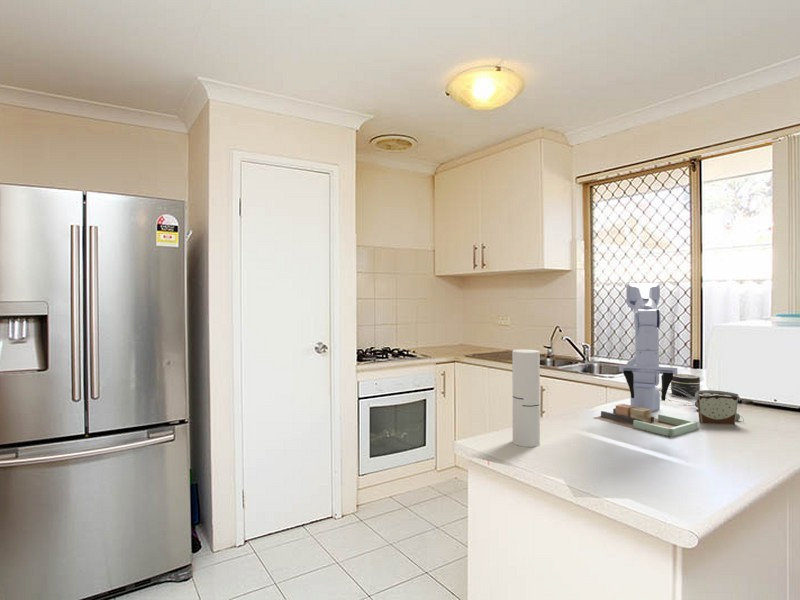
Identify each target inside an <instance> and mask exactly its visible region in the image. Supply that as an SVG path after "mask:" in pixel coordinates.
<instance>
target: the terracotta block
mask: <svg viewBox="0 0 800 600" xmlns="http://www.w3.org/2000/svg"><path fill="white" fill-rule="evenodd" d="M615 408H616V414H618V415H622V416H626V417H631V408H635V406H631V404H625V403H620V404H616V405H615Z"/></svg>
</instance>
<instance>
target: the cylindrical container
mask: <svg viewBox="0 0 800 600" xmlns="http://www.w3.org/2000/svg"><path fill="white" fill-rule="evenodd" d="M511 353H512V355H511V356H512V357H511V358H512V364H511V365H512V367H511V368H512V373H511V374H512V377H511V378H512V379H511V380H512V386H511V387H512V443H513V444H514V445H516V446H519V447H523V448H536V447H539V446H540V444H541V436H540V435H541V432H540V431H541V429H540V428H541V427H540V426H541V424H540V423H541V420H540V419H541V416H540V415H541V412H540V411H541V410H540V409H541V406H540V405H541V399H540V397H541V395H540V394H541V393H540V391H541V390H540V388H541V381H540V380H541V379H540V378H541V377H540V376H541V375H540V373H541V372H540V370H541V369H540V368H541V367H540V363H541V362H540V361H541V359H540V358H541V357H540V356H541V355H540V354H541V352H540V350H538V349H537V350H536V349H526V348H525V349H512V351H511Z"/></svg>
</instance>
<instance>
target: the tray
mask: <svg viewBox="0 0 800 600" xmlns="http://www.w3.org/2000/svg"><path fill="white" fill-rule="evenodd" d="M657 419H658V421H661V422H665V423H670V424H674V425H679V426H676V427H672V428H667V427H663V426H658V425H654V424H650V423H646V422H642V421H637V420H633V427H634V428H638V429H642V430H646V431H650V432H654V433H658V434H662V435H666V436H670V438H673V437H676V435H677V436H680V435H682V434H686V432H687V433H690V432H692V431H696V429H697V430H699V429H698V428H699V427H698V426H699V422H698V421H694V420H691V419H685V418H681V417H677V416H676V417H675V416H672V415H666V414H661V413H658V414H657ZM634 428H633V429H634ZM689 431H690V432H689ZM679 434H680V435H679Z"/></svg>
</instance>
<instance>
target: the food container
mask: <svg viewBox="0 0 800 600" xmlns="http://www.w3.org/2000/svg"><path fill="white" fill-rule="evenodd" d="M694 399H695V400H694V401H696V400H697V405H698V408H697V411H698V412H697V413H698V421H699V422H698V423H700V424H714V425H716V424H717V425H718V424H719V425H720V424H721V425H736V422H737V421H736V413H737V414H738V412H737V411H738V403H739V402H741V398H740V395H739V394H738V393H735V392H728V391H724V390H710V389H706V390H705V389H700V391H697V392H696V394H695V397H694Z"/></svg>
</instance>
